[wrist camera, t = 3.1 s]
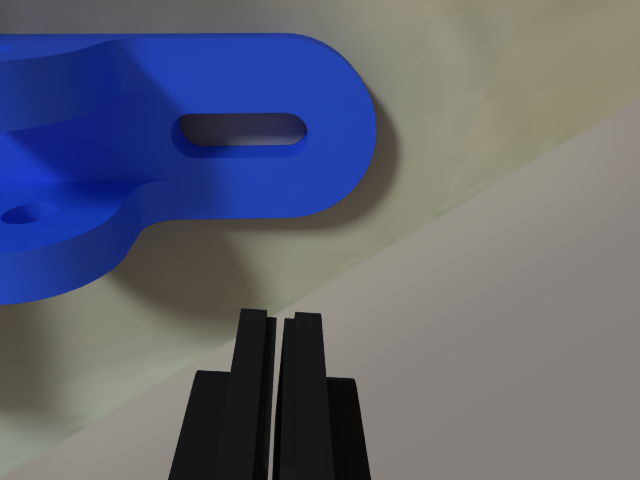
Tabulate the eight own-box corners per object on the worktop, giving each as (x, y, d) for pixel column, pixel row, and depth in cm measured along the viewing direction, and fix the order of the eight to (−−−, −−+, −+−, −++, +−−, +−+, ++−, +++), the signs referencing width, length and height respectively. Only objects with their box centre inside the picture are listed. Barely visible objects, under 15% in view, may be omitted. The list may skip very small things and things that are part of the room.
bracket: (24, 205, 26) (-98, 306, 18) (-29, 33, 22) (-217, 66, 14) (366, 199, 26) (395, 295, 18) (374, 32, 22) (416, 62, 14)
